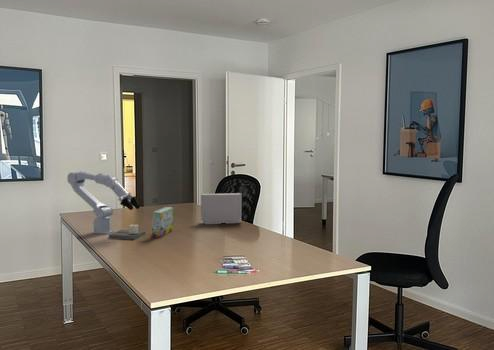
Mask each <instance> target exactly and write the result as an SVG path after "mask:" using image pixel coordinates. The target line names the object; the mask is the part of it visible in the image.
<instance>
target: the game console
mask: <svg viewBox="0 0 494 350" xmlns="http://www.w3.org/2000/svg"><path fill="white" fill-rule="evenodd" d="M242 195H243V194H242V193H241V192H236V193H235V192H234V193H233V192H232V193H200V220H201V221H202V222H203V224H205V225H217V224H218V225H220V224H221V223H226V224H241V223H242V221H243V220H242V209H243V207H242V200H243V196H242Z"/></svg>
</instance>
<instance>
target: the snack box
mask: <svg viewBox="0 0 494 350" xmlns="http://www.w3.org/2000/svg"><path fill="white" fill-rule="evenodd" d="M151 214H152V215H151V216H152V217H151V218H152V222H151V224H152V225H151V238H154V239H155V238H156V239H157V238H159V239H160V238H162V237H164V236H165V235H167V234H169V233H171V232H173V230H174V224H173V223H174V207H170V206H165V207H162V208H160V209H157V210H155V211H153V212H152V213H151Z"/></svg>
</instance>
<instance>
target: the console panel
mask: <svg viewBox="0 0 494 350" xmlns="http://www.w3.org/2000/svg"><path fill="white" fill-rule="evenodd" d="M144 236H146V231H144V230H139V232H138V233H136V234H130V233H129V229H128V230H127V229H119V230H118V231H115V232H114V231H113V232H111V233H109V235H108V238H109V239H117V240H118V239H119V240H130V241H133V240H134V241H135V240H138V239H140V238H142V237H144Z"/></svg>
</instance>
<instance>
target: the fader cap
mask: <svg viewBox="0 0 494 350" xmlns="http://www.w3.org/2000/svg"><path fill="white" fill-rule="evenodd" d="M139 226H140V225H139V224H130V225H129V226H128V230H129V233H130V234H136V233H138V232H139V231H140V230H139V229H140V228H139Z"/></svg>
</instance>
